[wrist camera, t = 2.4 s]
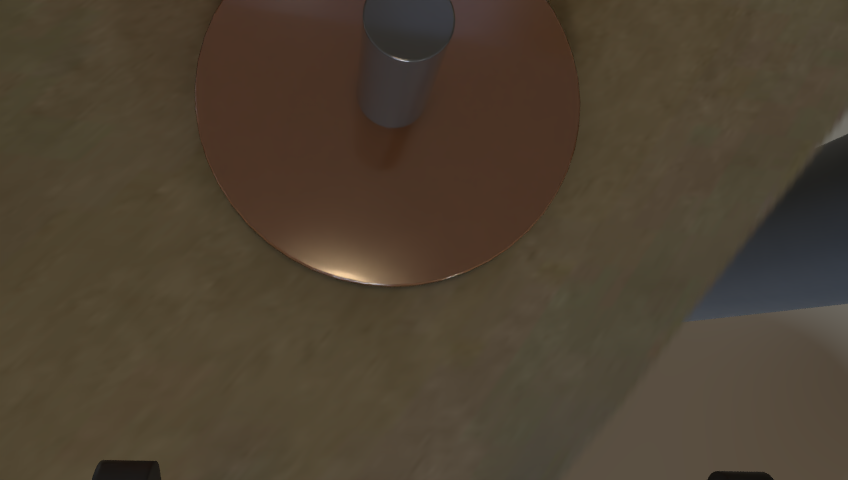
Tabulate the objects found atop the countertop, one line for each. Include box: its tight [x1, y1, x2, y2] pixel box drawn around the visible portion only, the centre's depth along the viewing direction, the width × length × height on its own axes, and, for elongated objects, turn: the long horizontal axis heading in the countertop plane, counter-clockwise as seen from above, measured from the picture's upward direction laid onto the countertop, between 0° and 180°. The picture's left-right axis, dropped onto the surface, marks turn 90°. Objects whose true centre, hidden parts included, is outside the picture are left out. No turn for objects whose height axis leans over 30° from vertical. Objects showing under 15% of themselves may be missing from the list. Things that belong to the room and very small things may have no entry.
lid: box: [195, 0, 580, 287], centre depth 26 cm, size 14×14×8 cm
